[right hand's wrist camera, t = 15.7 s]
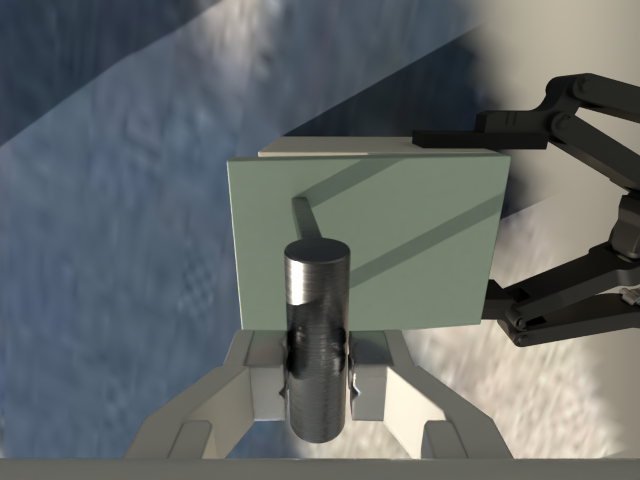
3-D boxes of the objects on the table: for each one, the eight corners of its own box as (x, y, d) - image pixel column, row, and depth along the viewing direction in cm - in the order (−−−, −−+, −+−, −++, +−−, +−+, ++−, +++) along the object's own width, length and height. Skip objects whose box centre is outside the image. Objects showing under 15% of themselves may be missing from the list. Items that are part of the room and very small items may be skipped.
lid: (244, 330, 19) (227, 489, 11) (229, 157, 16) (190, 209, 8) (469, 313, 21) (593, 442, 13) (498, 152, 17) (686, 192, 10)
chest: (284, 251, 29) (267, 311, 21) (280, 136, 26) (257, 151, 18) (429, 252, 29) (470, 313, 21) (442, 136, 26) (499, 152, 17)
